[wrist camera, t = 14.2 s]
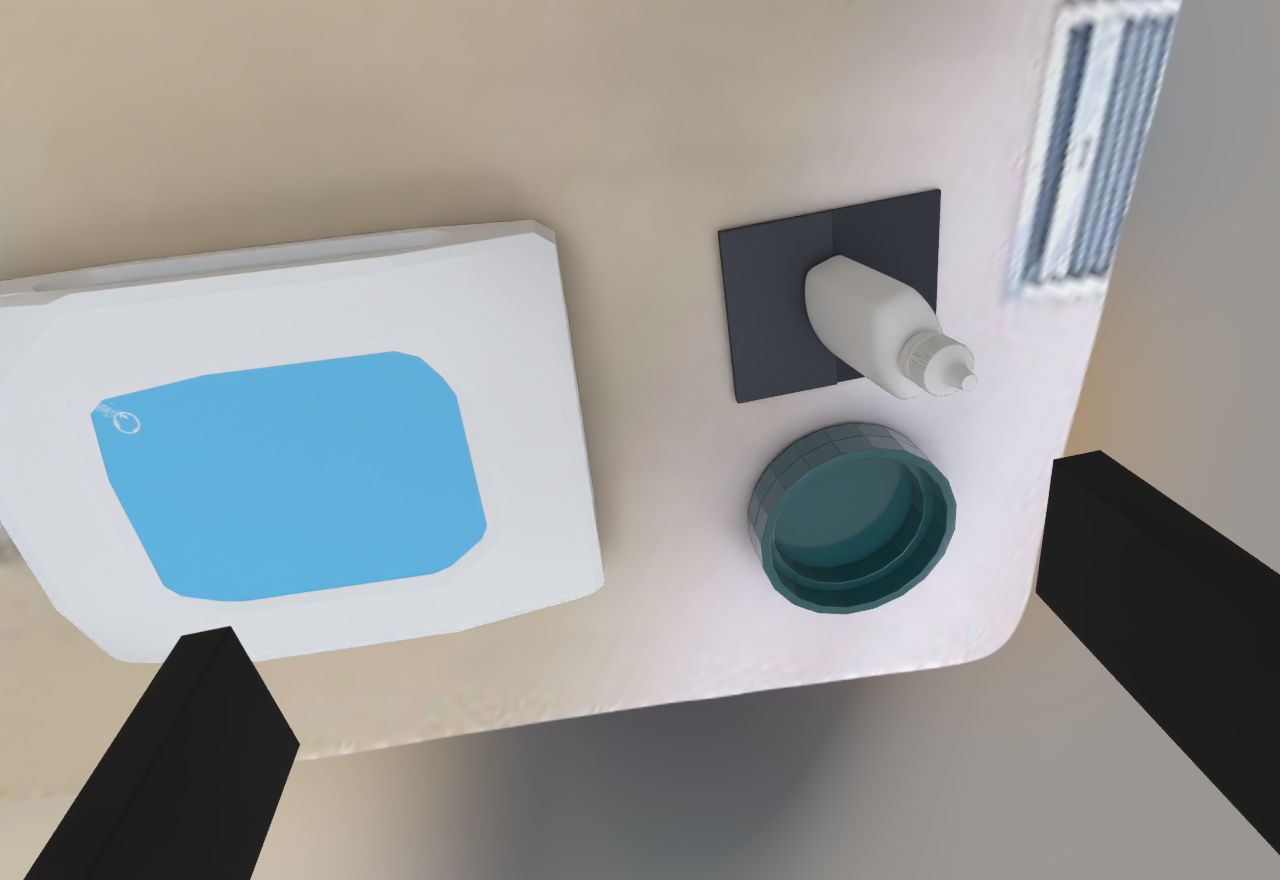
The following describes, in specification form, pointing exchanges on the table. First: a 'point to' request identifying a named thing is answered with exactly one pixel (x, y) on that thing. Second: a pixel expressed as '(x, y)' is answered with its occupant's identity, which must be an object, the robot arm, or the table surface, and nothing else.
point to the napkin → (775, 285)
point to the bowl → (850, 519)
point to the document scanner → (299, 441)
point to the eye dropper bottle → (884, 330)
